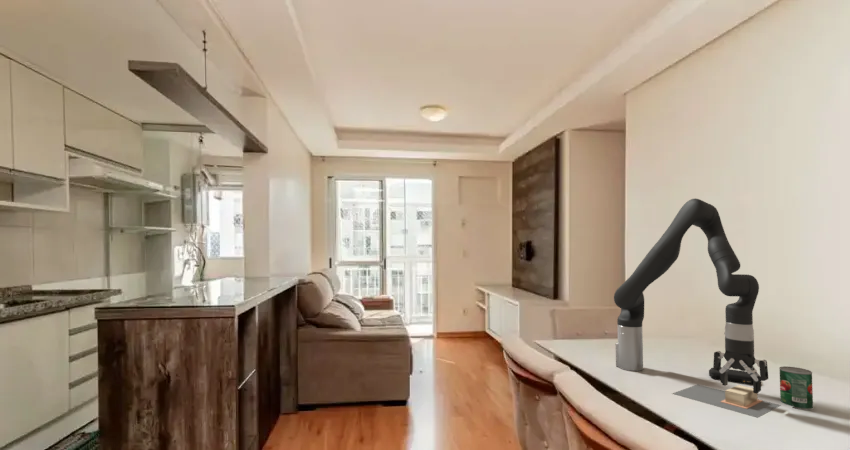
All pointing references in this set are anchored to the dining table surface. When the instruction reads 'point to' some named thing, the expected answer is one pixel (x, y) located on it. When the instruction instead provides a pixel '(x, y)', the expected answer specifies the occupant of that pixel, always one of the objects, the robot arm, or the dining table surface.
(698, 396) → the mat
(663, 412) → the dining table surface
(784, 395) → the canned tomato
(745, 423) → the dining table surface
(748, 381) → the carrying case or bag
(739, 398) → the block
